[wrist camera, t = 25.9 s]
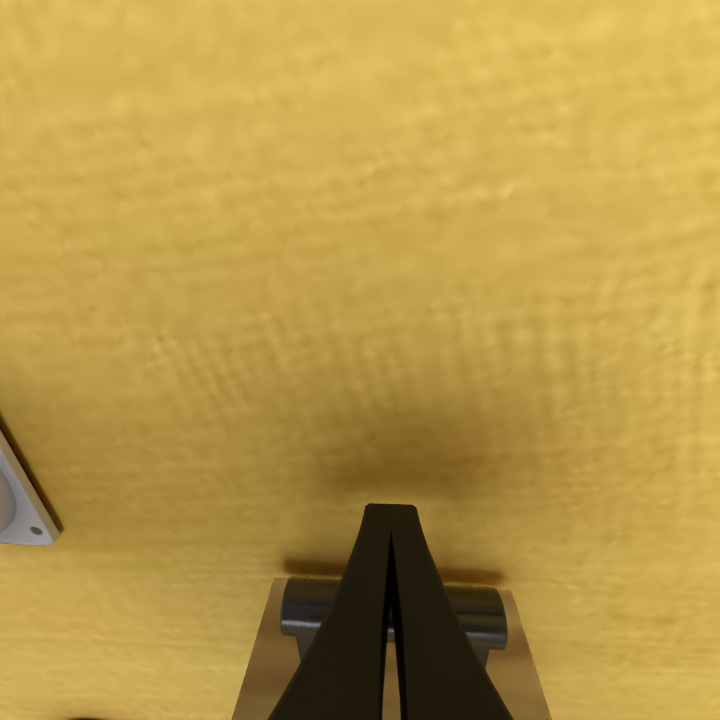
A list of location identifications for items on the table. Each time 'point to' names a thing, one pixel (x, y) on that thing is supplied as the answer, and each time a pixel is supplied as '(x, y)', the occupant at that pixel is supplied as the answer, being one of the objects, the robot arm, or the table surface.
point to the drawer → (388, 647)
